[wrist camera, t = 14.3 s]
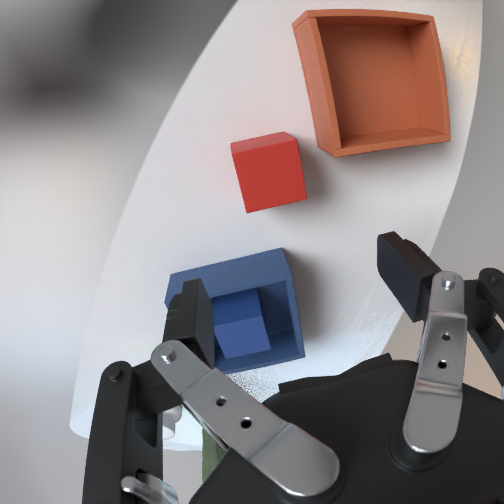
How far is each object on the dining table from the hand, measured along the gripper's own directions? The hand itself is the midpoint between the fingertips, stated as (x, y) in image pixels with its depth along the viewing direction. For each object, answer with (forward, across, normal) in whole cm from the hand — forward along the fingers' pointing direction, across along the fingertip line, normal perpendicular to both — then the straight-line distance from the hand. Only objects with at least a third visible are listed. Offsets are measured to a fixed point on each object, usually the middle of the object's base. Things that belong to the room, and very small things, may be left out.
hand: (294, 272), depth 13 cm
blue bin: (+14, +5, +13) cm, 20 cm away
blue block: (+14, +5, +13) cm, 19 cm away
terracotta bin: (+14, -11, -7) cm, 20 cm away
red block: (+14, -1, -1) cm, 15 cm away
